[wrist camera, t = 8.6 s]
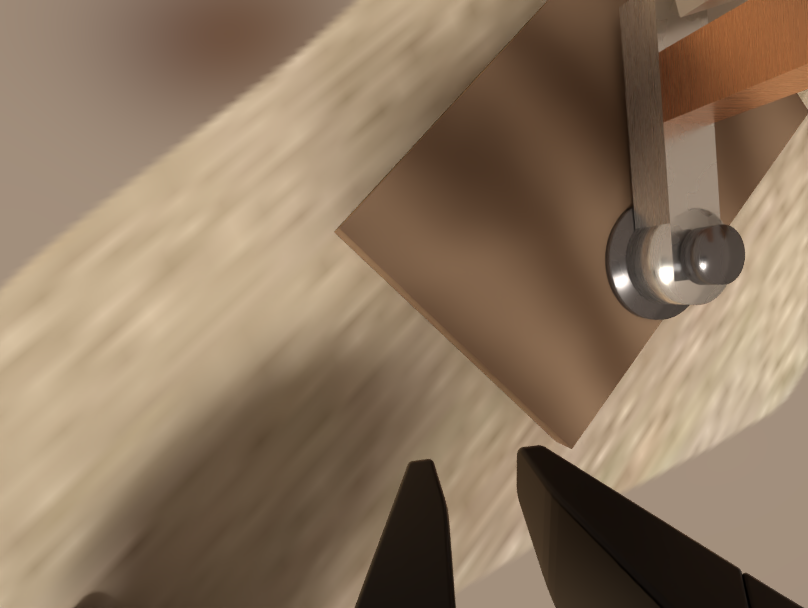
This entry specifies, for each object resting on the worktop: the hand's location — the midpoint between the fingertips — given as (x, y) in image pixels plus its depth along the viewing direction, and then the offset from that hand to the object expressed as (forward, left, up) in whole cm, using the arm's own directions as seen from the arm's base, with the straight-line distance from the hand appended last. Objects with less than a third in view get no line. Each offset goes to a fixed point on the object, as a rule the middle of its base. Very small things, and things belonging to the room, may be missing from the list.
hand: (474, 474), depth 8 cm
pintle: (+14, -9, -12) cm, 20 cm away
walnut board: (+16, -4, -13) cm, 21 cm away
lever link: (+17, -5, -11) cm, 21 cm away
